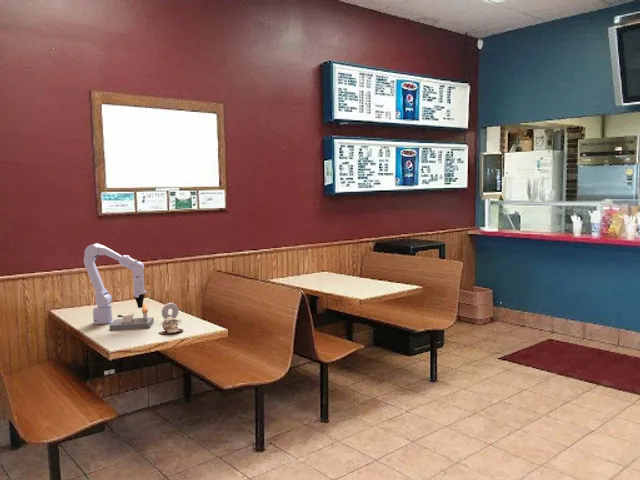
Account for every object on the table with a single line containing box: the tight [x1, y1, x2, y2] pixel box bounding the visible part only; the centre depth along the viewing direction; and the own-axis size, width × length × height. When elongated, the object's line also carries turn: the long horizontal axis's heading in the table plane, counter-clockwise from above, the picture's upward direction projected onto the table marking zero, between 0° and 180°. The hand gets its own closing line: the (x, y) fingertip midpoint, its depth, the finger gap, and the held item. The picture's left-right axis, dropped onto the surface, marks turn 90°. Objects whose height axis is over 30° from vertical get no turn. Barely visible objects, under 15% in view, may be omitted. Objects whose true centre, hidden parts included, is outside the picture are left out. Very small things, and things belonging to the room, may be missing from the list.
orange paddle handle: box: [141, 303, 149, 314], centre depth 302 cm, size 16×3×2 cm, turn 18°
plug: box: [116, 312, 135, 323], centre depth 295 cm, size 8×5×6 cm, turn 97°
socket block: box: [109, 312, 155, 331], centre depth 295 cm, size 20×14×7 cm
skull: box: [158, 317, 184, 335], centre depth 280 cm, size 12×10×10 cm
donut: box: [161, 302, 180, 320], centre depth 305 cm, size 10×4×10 cm, turn 135°
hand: (140, 307), depth 306 cm, fingers closed, pressing on orange paddle handle
